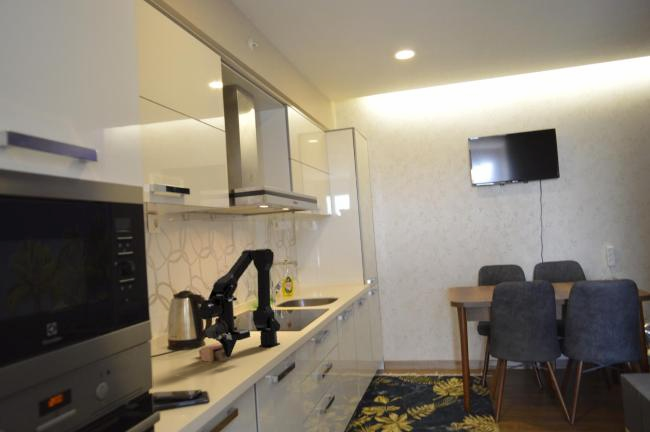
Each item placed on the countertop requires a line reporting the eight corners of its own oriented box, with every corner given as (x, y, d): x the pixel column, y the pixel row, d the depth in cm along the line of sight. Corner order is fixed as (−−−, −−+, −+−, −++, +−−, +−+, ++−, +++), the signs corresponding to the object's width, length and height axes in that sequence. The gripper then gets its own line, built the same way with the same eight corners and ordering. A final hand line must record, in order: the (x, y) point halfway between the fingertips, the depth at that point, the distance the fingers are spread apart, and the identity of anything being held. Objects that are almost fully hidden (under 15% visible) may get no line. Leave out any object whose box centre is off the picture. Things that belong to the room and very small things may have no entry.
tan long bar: (230, 359, 176) (229, 350, 177) (223, 361, 174) (223, 352, 174) (204, 354, 186) (204, 347, 186) (198, 356, 183) (197, 349, 183)
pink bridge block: (218, 354, 184) (217, 342, 184) (226, 356, 181) (226, 343, 181) (201, 360, 178) (200, 347, 178) (210, 361, 175) (209, 348, 175)
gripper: (191, 317, 174) (194, 360, 173) (226, 319, 163) (229, 365, 163) (215, 312, 183) (218, 352, 183) (249, 313, 172) (252, 357, 172)
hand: (228, 356), depth 175 cm, fingers closed
